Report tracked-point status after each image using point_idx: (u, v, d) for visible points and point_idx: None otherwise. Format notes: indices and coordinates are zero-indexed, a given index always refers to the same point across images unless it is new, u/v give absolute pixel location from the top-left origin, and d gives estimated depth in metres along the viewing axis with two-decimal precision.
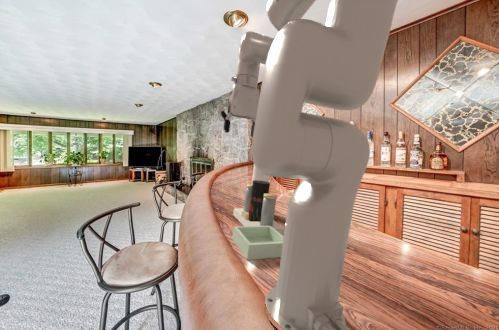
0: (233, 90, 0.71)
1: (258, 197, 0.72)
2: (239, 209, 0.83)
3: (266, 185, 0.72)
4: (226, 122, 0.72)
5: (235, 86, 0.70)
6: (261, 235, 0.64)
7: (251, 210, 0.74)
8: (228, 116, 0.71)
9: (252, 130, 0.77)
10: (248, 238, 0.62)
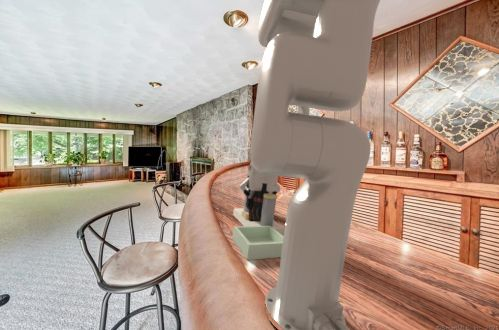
0: (252, 167, 0.71)
1: (258, 197, 0.72)
2: (239, 209, 0.83)
3: (266, 185, 0.72)
4: (249, 200, 0.73)
5: None
6: (261, 235, 0.64)
7: (251, 210, 0.74)
8: (251, 195, 0.72)
9: None
10: (248, 238, 0.62)
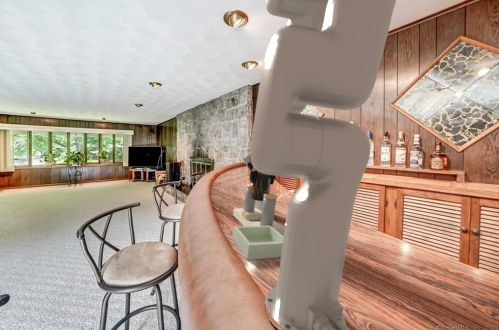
0: None
1: None
2: (239, 209, 0.83)
3: None
4: (252, 173, 0.72)
5: None
6: (261, 235, 0.64)
7: (255, 183, 0.72)
8: (255, 167, 0.71)
9: None
10: (248, 238, 0.62)
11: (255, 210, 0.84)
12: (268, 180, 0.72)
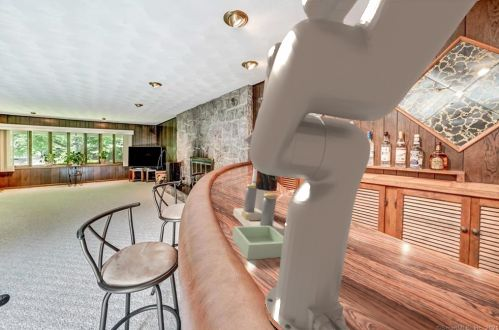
0: None
1: None
2: (239, 209, 0.83)
3: None
4: None
5: None
6: (261, 235, 0.64)
7: None
8: None
9: None
10: (248, 238, 0.62)
11: (255, 210, 0.84)
12: None
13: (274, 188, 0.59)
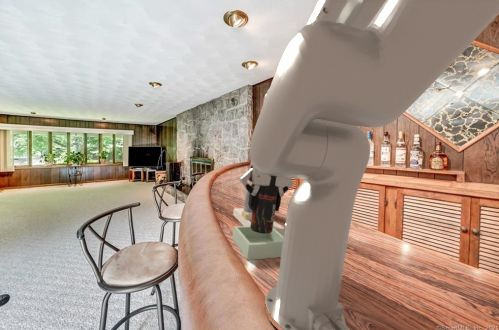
0: None
1: (265, 194, 0.55)
2: (239, 209, 0.83)
3: (275, 178, 0.55)
4: (252, 198, 0.55)
5: None
6: (261, 235, 0.64)
7: (255, 211, 0.56)
8: (255, 191, 0.55)
9: None
10: (248, 238, 0.62)
11: None
12: (272, 207, 0.56)
13: (270, 230, 0.56)
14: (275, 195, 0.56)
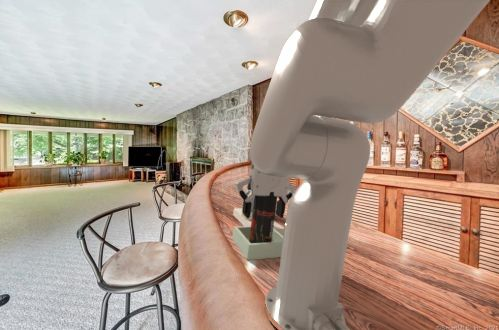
0: None
1: (263, 210, 0.55)
2: (239, 209, 0.83)
3: (273, 194, 0.55)
4: (246, 204, 0.55)
5: None
6: None
7: (254, 227, 0.56)
8: (249, 197, 0.54)
9: (278, 208, 0.59)
10: (248, 238, 0.62)
11: None
12: (271, 223, 0.56)
13: None
14: (273, 211, 0.56)
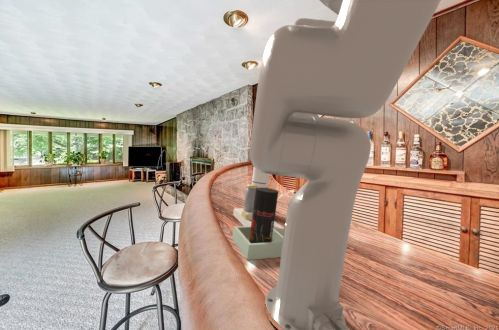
0: None
1: (263, 210, 0.54)
2: (239, 209, 0.83)
3: (274, 194, 0.55)
4: None
5: None
6: None
7: (254, 227, 0.56)
8: None
9: None
10: (248, 238, 0.62)
11: None
12: (271, 223, 0.55)
13: None
14: (273, 212, 0.56)
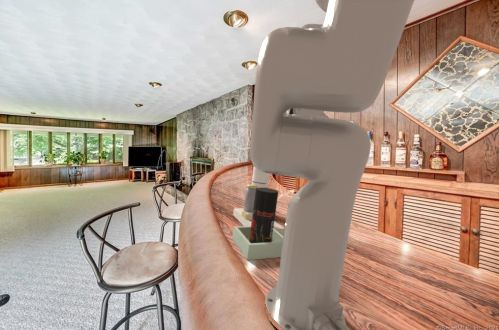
0: None
1: (263, 210, 0.54)
2: (239, 209, 0.83)
3: (274, 194, 0.55)
4: None
5: None
6: None
7: (254, 227, 0.56)
8: None
9: None
10: (248, 238, 0.62)
11: None
12: (271, 223, 0.55)
13: None
14: (273, 212, 0.56)
